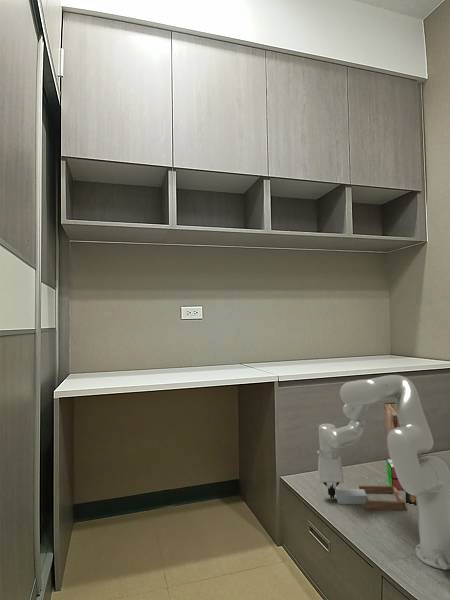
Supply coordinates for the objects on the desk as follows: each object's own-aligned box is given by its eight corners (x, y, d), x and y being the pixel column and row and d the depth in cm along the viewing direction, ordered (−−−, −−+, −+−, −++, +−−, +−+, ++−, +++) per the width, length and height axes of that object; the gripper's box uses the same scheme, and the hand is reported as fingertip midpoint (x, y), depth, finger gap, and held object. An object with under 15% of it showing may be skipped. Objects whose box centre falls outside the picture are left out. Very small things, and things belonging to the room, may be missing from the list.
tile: (367, 504, 157) (366, 495, 158) (352, 504, 158) (351, 495, 159) (364, 497, 163) (363, 489, 164) (350, 497, 164) (349, 489, 164)
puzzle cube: (416, 490, 166) (415, 467, 167) (392, 490, 168) (390, 467, 169) (410, 481, 176) (408, 459, 177) (387, 480, 178) (386, 459, 179)
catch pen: (405, 510, 151) (405, 502, 151) (366, 509, 153) (366, 501, 153) (395, 492, 166) (394, 485, 166) (359, 492, 168) (359, 485, 168)
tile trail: (352, 504, 158) (352, 495, 158) (338, 504, 159) (337, 495, 159) (350, 497, 164) (349, 489, 164) (336, 497, 165) (335, 489, 165)
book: (418, 479, 177) (413, 414, 179) (397, 478, 180) (392, 414, 181) (406, 458, 202) (402, 402, 204) (388, 458, 204) (383, 402, 206)
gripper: (312, 456, 161) (315, 500, 160) (348, 456, 159) (351, 501, 158) (310, 450, 168) (313, 492, 168) (345, 450, 166) (348, 492, 165)
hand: (332, 496), depth 163 cm, fingers closed
